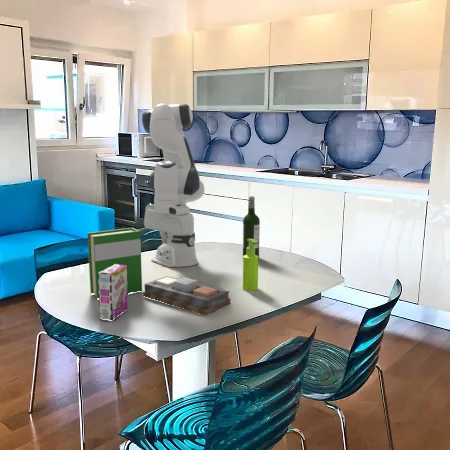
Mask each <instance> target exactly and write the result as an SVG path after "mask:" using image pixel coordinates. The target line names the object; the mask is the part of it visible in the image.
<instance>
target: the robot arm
mask: <svg viewBox="0 0 450 450" xmlns="http://www.w3.org/2000/svg"><path fill="white" fill-rule="evenodd" d="M193 115H194V114H193V111H192V109H191V106H190V105H189V104H187V103H178V104H177V103H175V104H166V103H159V104H157V105H155V106H154V107H153V108H148V109H146V110H144V111H143V113H142V114H141V124H142V128H143V129H144V131H145V133H148V134H150V140H151V142H152V143H153V145H155V146H156V147H157V148H158V149H160V150H162V155H163V160H161V161H157V162H156V163H155V167H154V168H155V169H154V170H153V171H152V172H151V173H150V175H149V176H150V190H151V191H153V192H154V198H153V202H154V203H153V204H151V203H149V204H147V205H146V206H145V213H144V220H143V225H144V227H145V229H148V230H153V231H158V232H159V235H160V238H161V242H162V244H161V245H160V246H158V247H157V249H156V254H155V255H156V256H153V257H152V258H151V262H153V263H156V264H159V265H162V266H164V267H166V268H167V267H168V268H175V267H179V268H181V267H183V268H184V267H191V266H194V265H197V264H198V263H199V261H198V258H197V252H196V245H195V243H196V233H195V217H194V215H193V213H191V209H190V207H189V206H188V205H187V203H193V202H195V201H198V200H200V199H201V198H202V197H204V194H205V185H204V183H203V182H202V181H201V178H200V174H199V172H198V170H197V167H196V165H195V161H194V157H193V154H192V150H191V147H190V144H189V142H188V139H187V137H185V134H184V132H187V130H188V129H189V128H190V127H191V125H192V124H193V120H194V116H193ZM183 129H184V130H183Z"/></svg>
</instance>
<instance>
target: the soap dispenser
mask: <svg viewBox="0 0 450 450" xmlns="http://www.w3.org/2000/svg"><path fill="white" fill-rule="evenodd" d="M247 241H249V246H248V247H247V249H246V255H244V256H243V255H242V289H243V290H244V291H247V292H255V291H257V290H259V259H258V256H257V255H255V247H253V243H258V241H256V240H255V239H247Z"/></svg>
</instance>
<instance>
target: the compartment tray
mask: <svg viewBox="0 0 450 450" xmlns="http://www.w3.org/2000/svg"><path fill="white" fill-rule="evenodd" d="M166 277H169V278H173V279H177V280H179V279H180V278H176V277H173V276H168V275H167V276H166V275H164V276H162V277H161V278H160V277H159V278H157V279H154V280H152V281H149V282H146V283H144V291H142V297H143V296H145V297H148V298H151V299H155V300H158V301H161V302H164V303H167V304H170V305H169V306H171V305H174V306H177V307H176V308H178V307H180V308H179V309H181V308H184V309H183V310H185V309H186V310H185V311H188V310H189V312H192V311H193V312H192V313H195V312H196V313H195V314H198V313H200V314H199V315H202V314H203V315H202V316H205V315H207V316H208V315H210V314H213V313H215V312H216V311H219V310H222V309H223V308H225V307H227V306H229V305H231V298H230V291H229V290H225V289H222V288H218V287H217V288H216V287H214V286H210V285H205V284H201V283H197V289H198V288H200V287H203V286H206V287H210V288H214V289H217V294H215V295H212V296H210V297H208V298H205V297H202V296H198V295H194V294H193V290H192V291H190V292H187V293H186V292H183V291H179V290H175V289H174V286H171V287H168V288H167V287H164V286H160V285H156V281H157V280H160V279H163V278H166ZM161 302H160V303H161ZM164 303H163V304H164ZM167 304H166V305H167ZM174 306H173V307H174Z"/></svg>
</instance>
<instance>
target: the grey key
mask: <svg viewBox="0 0 450 450" xmlns="http://www.w3.org/2000/svg"><path fill="white" fill-rule="evenodd" d="M178 279H179V280H176V281H174V289H175V290H179V291H183V292H186V293H187V292H190V291H192V290H195V289H197V284H198V280H197V279H194V278H189V277H182V278H178Z"/></svg>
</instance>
